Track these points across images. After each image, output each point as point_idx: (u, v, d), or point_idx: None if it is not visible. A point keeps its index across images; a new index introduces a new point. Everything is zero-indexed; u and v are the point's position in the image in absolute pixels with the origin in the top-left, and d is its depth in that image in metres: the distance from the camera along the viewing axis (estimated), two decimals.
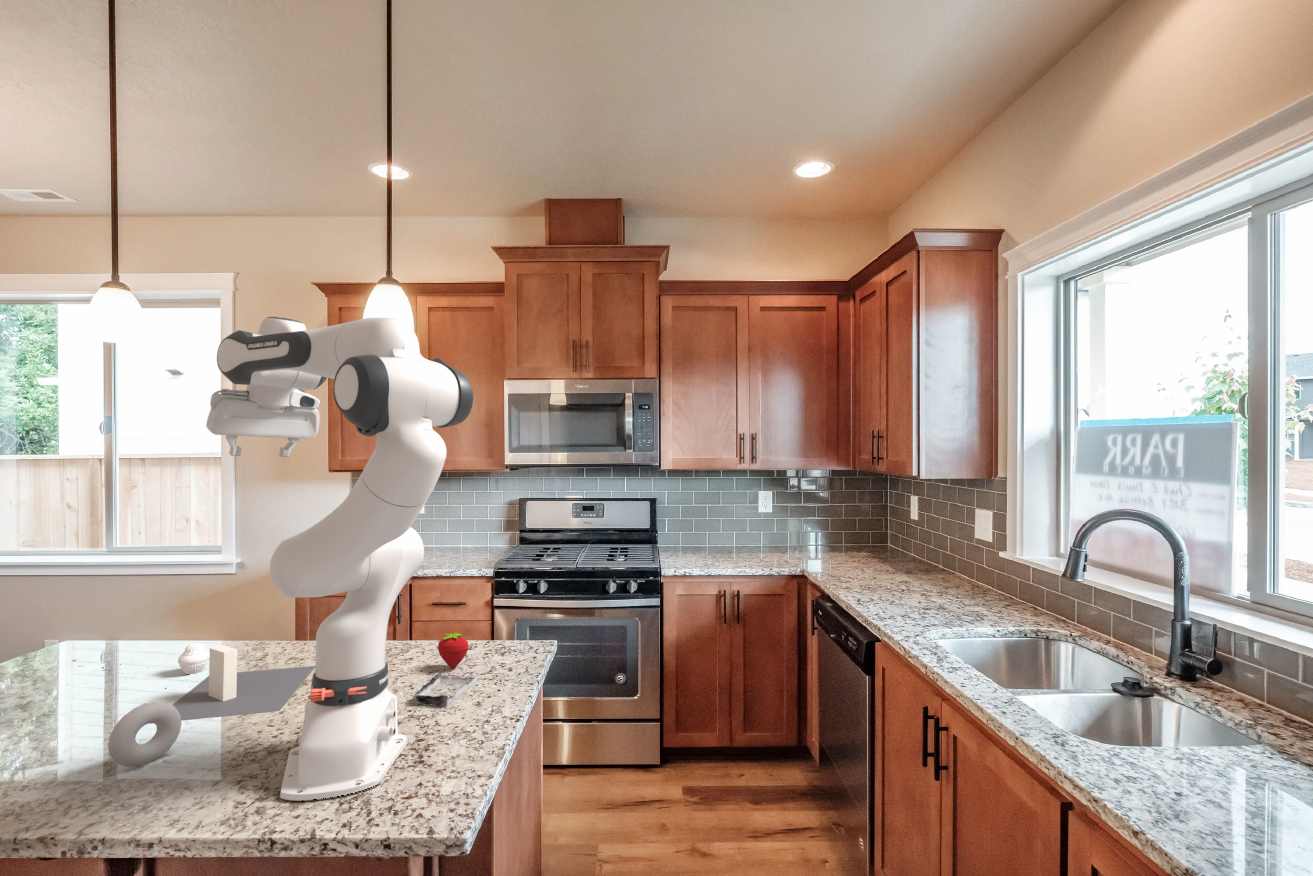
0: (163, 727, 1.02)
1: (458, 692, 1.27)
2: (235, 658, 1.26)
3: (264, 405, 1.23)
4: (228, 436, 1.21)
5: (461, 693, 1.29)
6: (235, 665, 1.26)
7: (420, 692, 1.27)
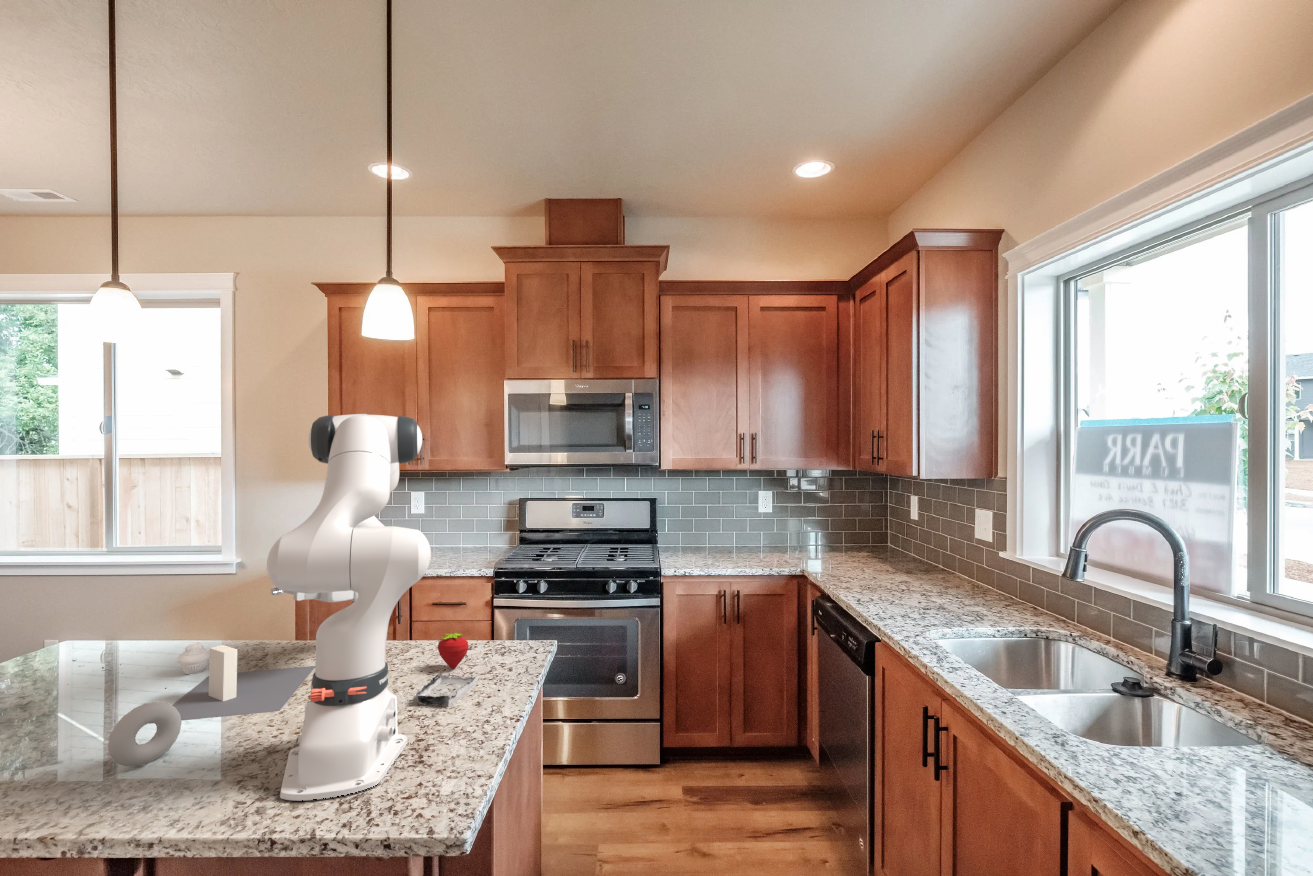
0: (163, 727, 1.02)
1: (459, 692, 1.27)
2: (235, 658, 1.26)
3: None
4: None
5: (462, 693, 1.28)
6: (235, 665, 1.26)
7: (421, 692, 1.27)
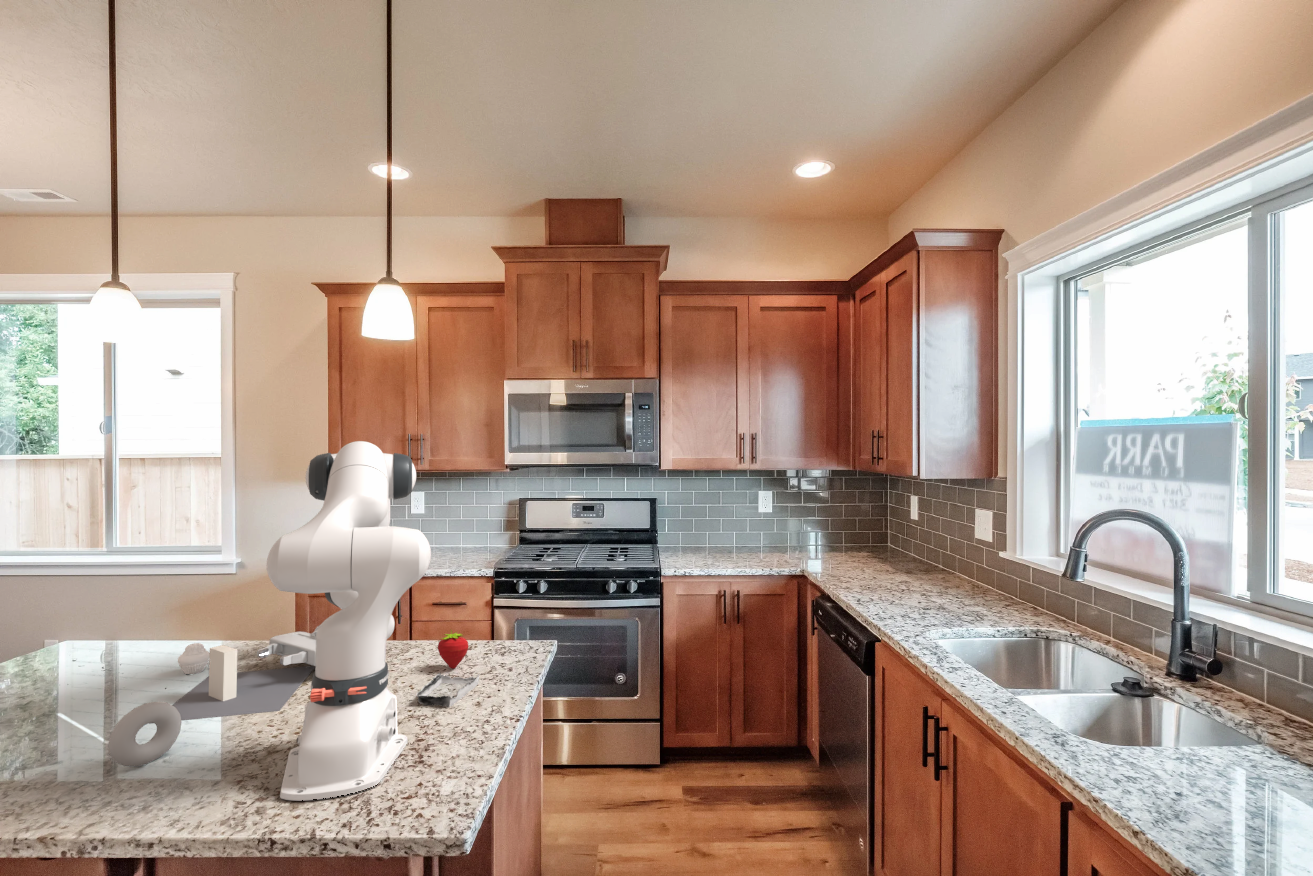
0: (163, 727, 1.02)
1: (460, 693, 1.27)
2: (235, 658, 1.26)
3: None
4: None
5: (463, 693, 1.28)
6: (235, 665, 1.26)
7: (422, 693, 1.27)
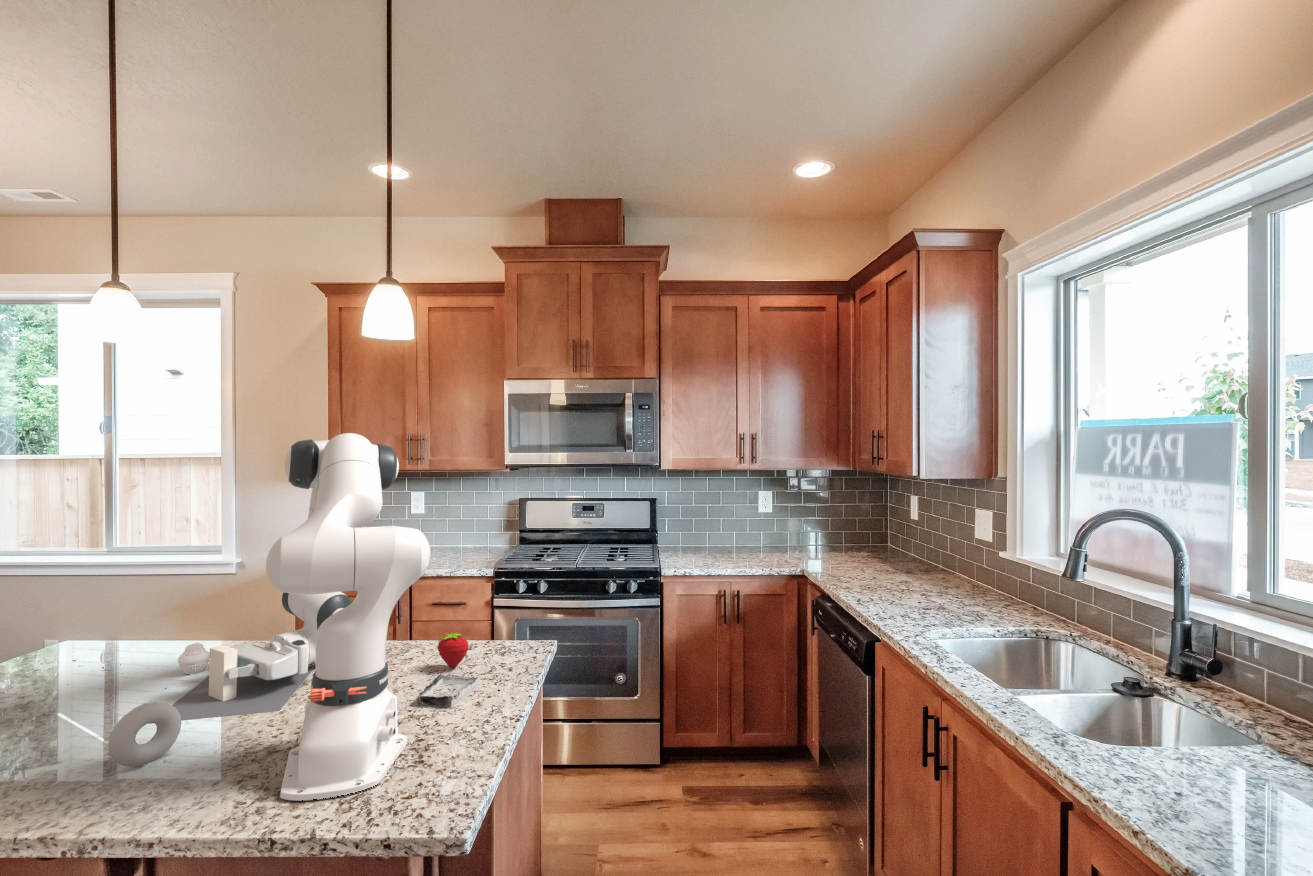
0: (163, 727, 1.02)
1: (462, 693, 1.27)
2: (235, 658, 1.26)
3: None
4: None
5: (465, 693, 1.28)
6: (235, 665, 1.26)
7: (424, 693, 1.26)
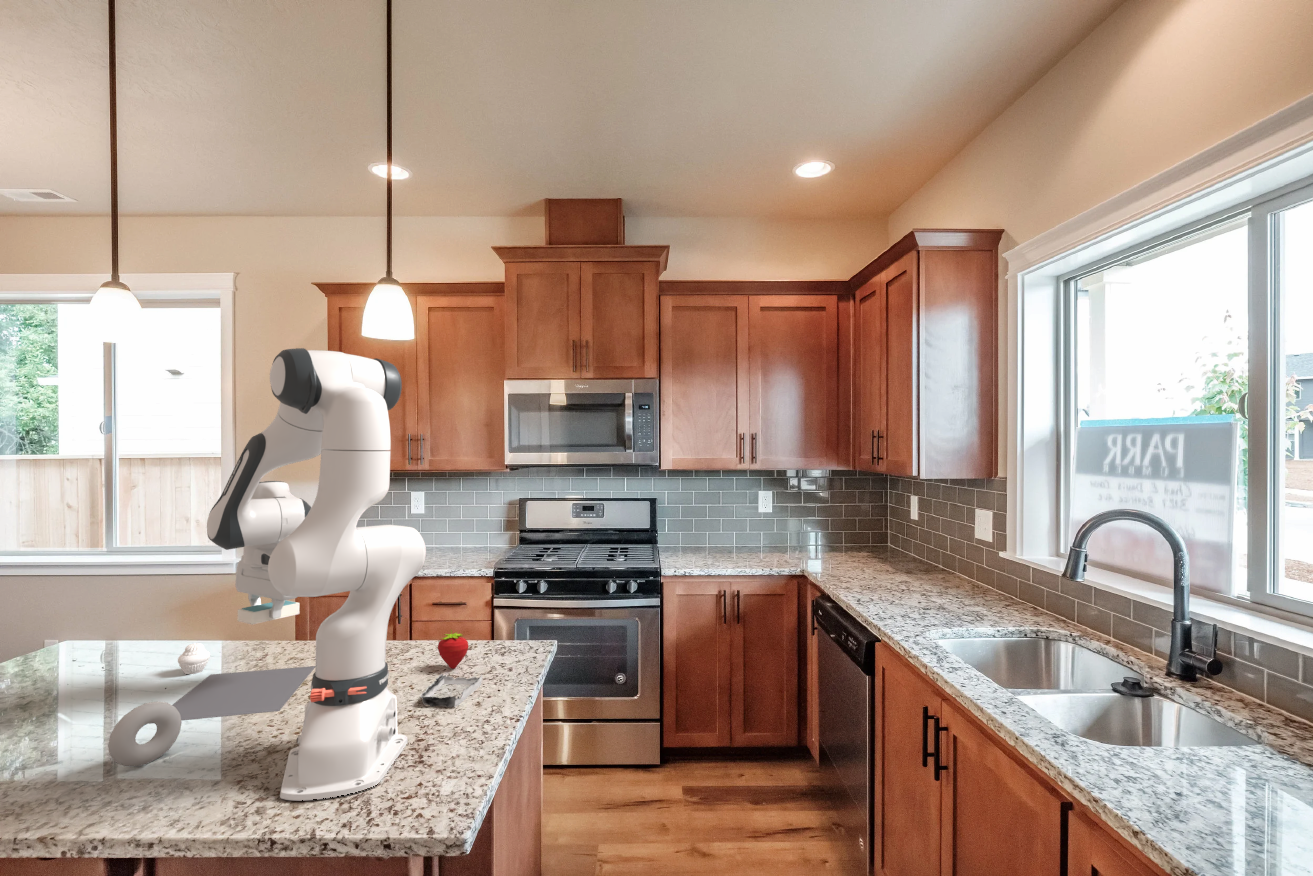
0: (163, 727, 1.02)
1: (465, 693, 1.27)
2: (261, 612, 1.30)
3: None
4: None
5: (467, 694, 1.28)
6: (268, 610, 1.31)
7: (426, 694, 1.26)
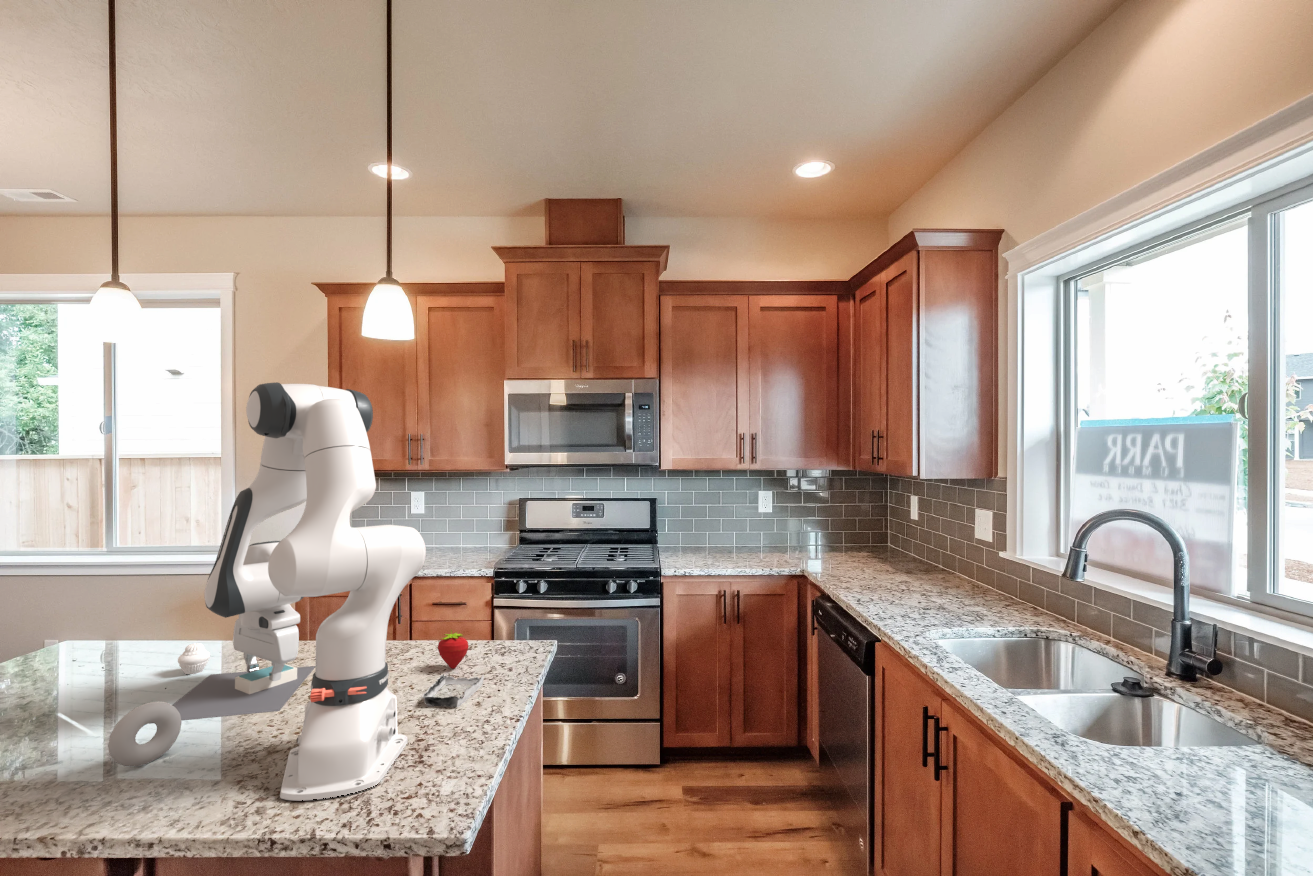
0: (163, 727, 1.02)
1: (467, 693, 1.27)
2: (258, 681, 1.29)
3: None
4: None
5: (469, 694, 1.28)
6: (265, 678, 1.30)
7: (428, 694, 1.26)
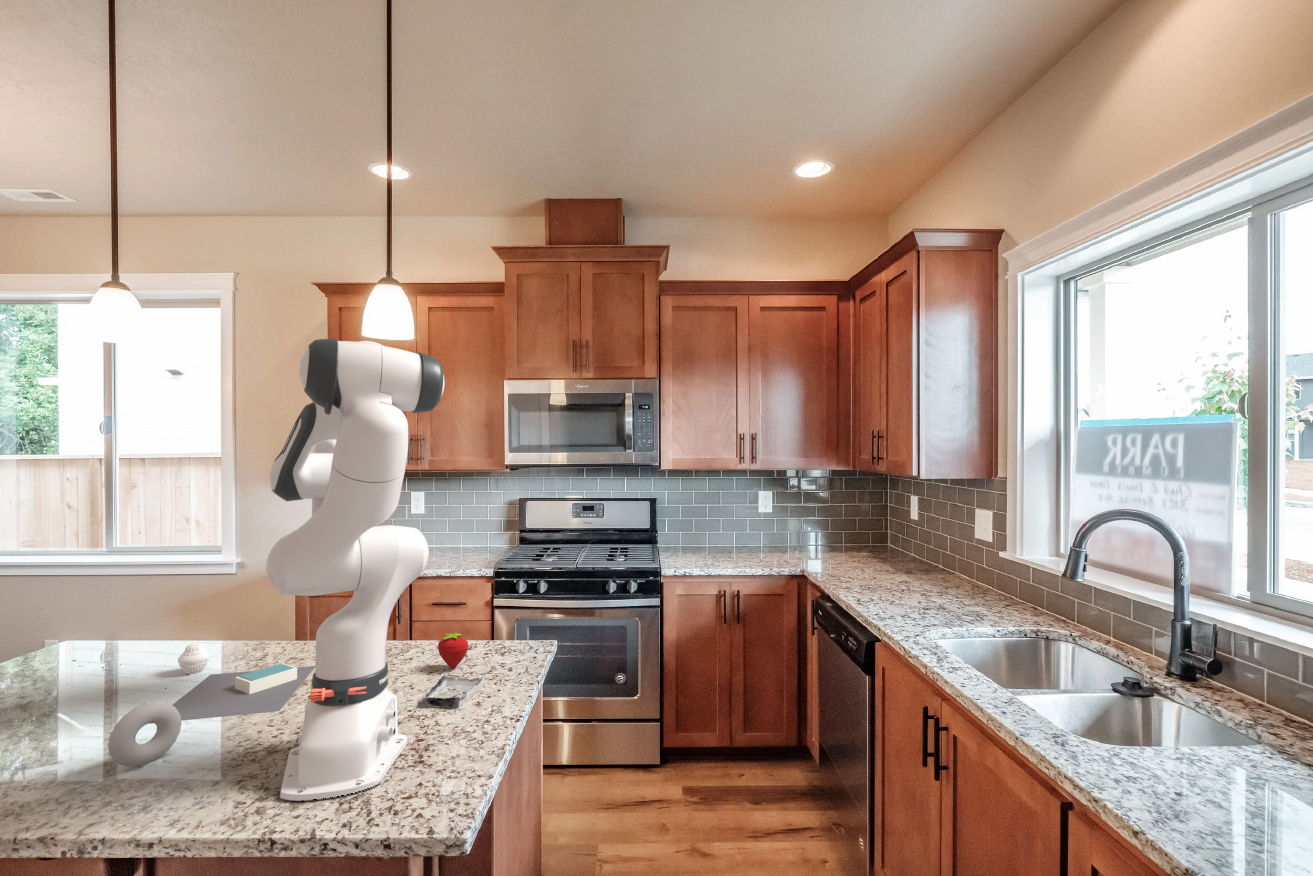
0: (163, 727, 1.02)
1: (468, 694, 1.27)
2: (258, 681, 1.29)
3: None
4: None
5: (471, 694, 1.28)
6: (265, 678, 1.30)
7: (429, 694, 1.26)
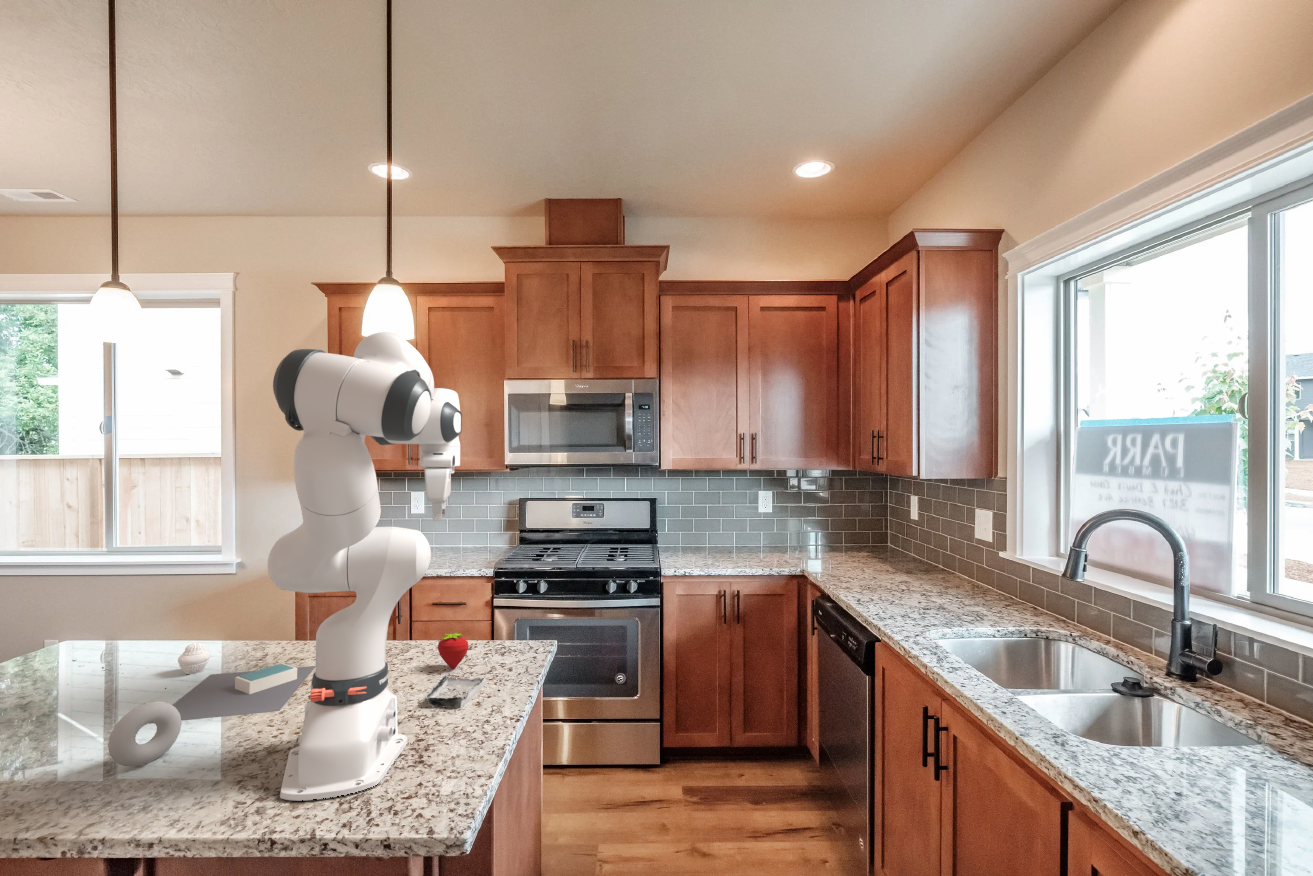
0: (163, 727, 1.02)
1: (470, 694, 1.26)
2: (258, 681, 1.29)
3: None
4: None
5: (473, 694, 1.28)
6: (265, 678, 1.30)
7: (431, 694, 1.26)
